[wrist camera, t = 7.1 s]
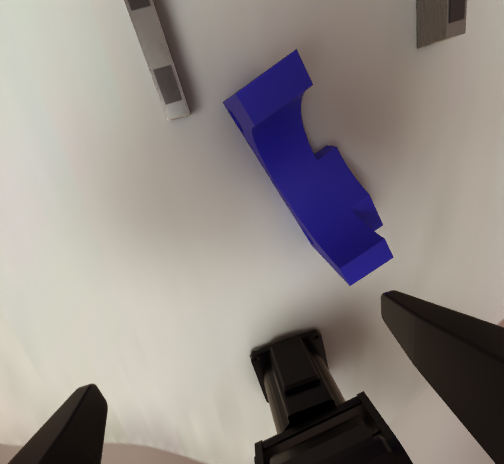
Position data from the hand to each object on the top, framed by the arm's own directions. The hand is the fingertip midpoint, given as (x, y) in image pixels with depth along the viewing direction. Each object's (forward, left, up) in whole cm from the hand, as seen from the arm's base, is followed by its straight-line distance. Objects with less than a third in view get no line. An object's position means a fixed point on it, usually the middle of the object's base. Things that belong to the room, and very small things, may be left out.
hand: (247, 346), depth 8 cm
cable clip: (+2, -6, -12) cm, 14 cm away
